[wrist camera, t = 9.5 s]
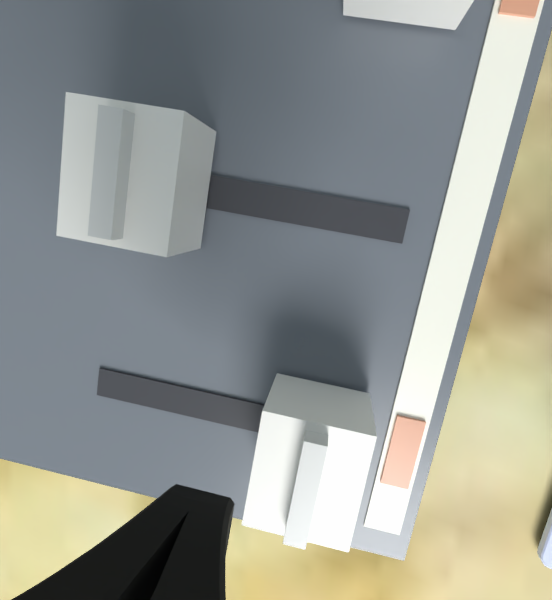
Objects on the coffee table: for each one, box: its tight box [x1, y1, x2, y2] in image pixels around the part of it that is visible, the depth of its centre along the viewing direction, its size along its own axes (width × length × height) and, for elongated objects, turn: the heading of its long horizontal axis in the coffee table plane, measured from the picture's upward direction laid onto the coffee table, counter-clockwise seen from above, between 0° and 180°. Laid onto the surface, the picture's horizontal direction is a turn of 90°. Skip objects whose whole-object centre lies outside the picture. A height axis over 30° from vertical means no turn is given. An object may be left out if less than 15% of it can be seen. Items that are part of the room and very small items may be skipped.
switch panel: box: [0, 0, 552, 561], centre depth 15 cm, size 16×22×2 cm
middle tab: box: [56, 92, 216, 257], centre depth 12 cm, size 3×4×3 cm
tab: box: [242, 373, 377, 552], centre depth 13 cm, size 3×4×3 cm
